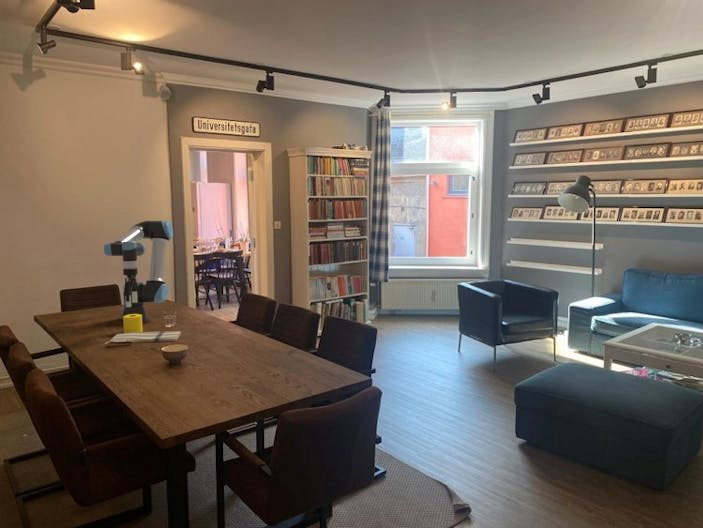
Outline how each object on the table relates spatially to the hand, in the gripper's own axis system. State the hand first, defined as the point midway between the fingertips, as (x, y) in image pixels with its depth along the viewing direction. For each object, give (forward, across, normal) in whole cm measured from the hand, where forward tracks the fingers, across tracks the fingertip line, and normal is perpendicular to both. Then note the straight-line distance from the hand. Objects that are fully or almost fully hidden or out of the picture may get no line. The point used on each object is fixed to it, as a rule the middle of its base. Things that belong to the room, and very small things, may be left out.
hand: (131, 304), depth 301 cm
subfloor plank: (+16, +16, +11) cm, 25 cm away
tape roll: (+16, 0, 0) cm, 16 cm away
